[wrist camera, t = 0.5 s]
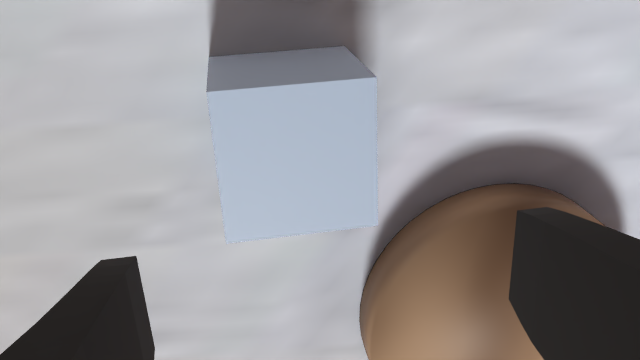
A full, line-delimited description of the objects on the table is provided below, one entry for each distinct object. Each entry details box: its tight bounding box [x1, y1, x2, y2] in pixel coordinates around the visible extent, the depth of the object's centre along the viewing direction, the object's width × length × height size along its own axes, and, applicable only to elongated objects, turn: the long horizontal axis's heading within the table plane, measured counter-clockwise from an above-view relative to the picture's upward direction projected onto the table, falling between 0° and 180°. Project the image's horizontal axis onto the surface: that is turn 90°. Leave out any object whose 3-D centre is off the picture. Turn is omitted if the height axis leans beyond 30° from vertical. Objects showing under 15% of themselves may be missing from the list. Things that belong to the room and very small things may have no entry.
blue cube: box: [206, 46, 378, 244], centre depth 19 cm, size 4×4×4 cm
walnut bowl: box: [359, 184, 606, 360], centre depth 24 cm, size 11×11×2 cm
